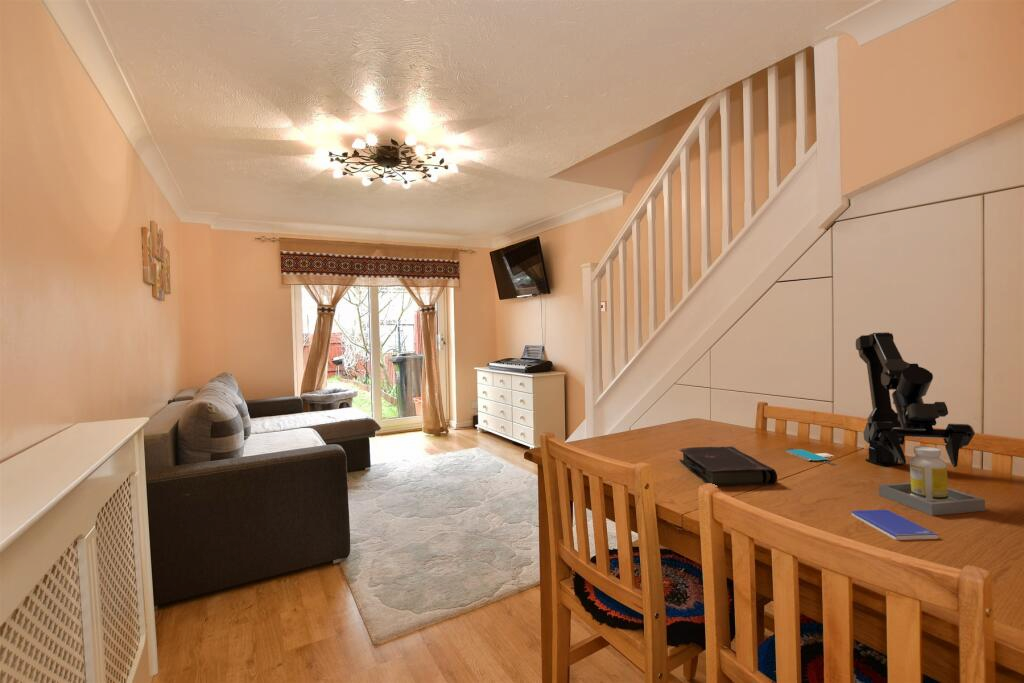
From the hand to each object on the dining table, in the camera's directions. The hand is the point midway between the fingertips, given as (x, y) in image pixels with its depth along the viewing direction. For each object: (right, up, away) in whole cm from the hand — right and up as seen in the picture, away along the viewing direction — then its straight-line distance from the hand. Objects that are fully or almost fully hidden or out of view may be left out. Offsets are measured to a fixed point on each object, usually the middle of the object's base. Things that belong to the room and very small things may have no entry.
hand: (929, 464), depth 107 cm
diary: (-34, -11, +30) cm, 47 cm away
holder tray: (+1, -9, +1) cm, 9 cm away
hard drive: (-17, -11, -10) cm, 23 cm away
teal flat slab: (0, -9, +42) cm, 43 cm away
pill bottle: (+1, -8, +1) cm, 8 cm away
